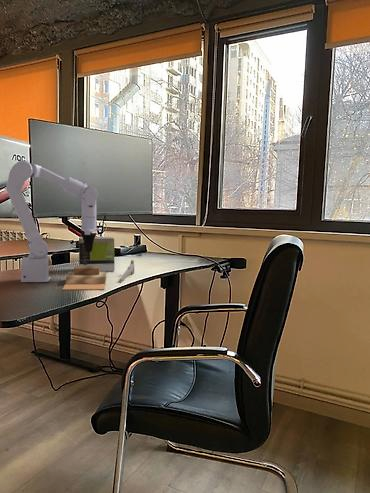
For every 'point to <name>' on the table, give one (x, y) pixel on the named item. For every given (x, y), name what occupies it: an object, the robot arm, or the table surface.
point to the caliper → (127, 271)
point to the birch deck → (86, 278)
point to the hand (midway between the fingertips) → (88, 251)
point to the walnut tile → (86, 270)
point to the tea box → (98, 253)
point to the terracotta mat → (84, 287)
